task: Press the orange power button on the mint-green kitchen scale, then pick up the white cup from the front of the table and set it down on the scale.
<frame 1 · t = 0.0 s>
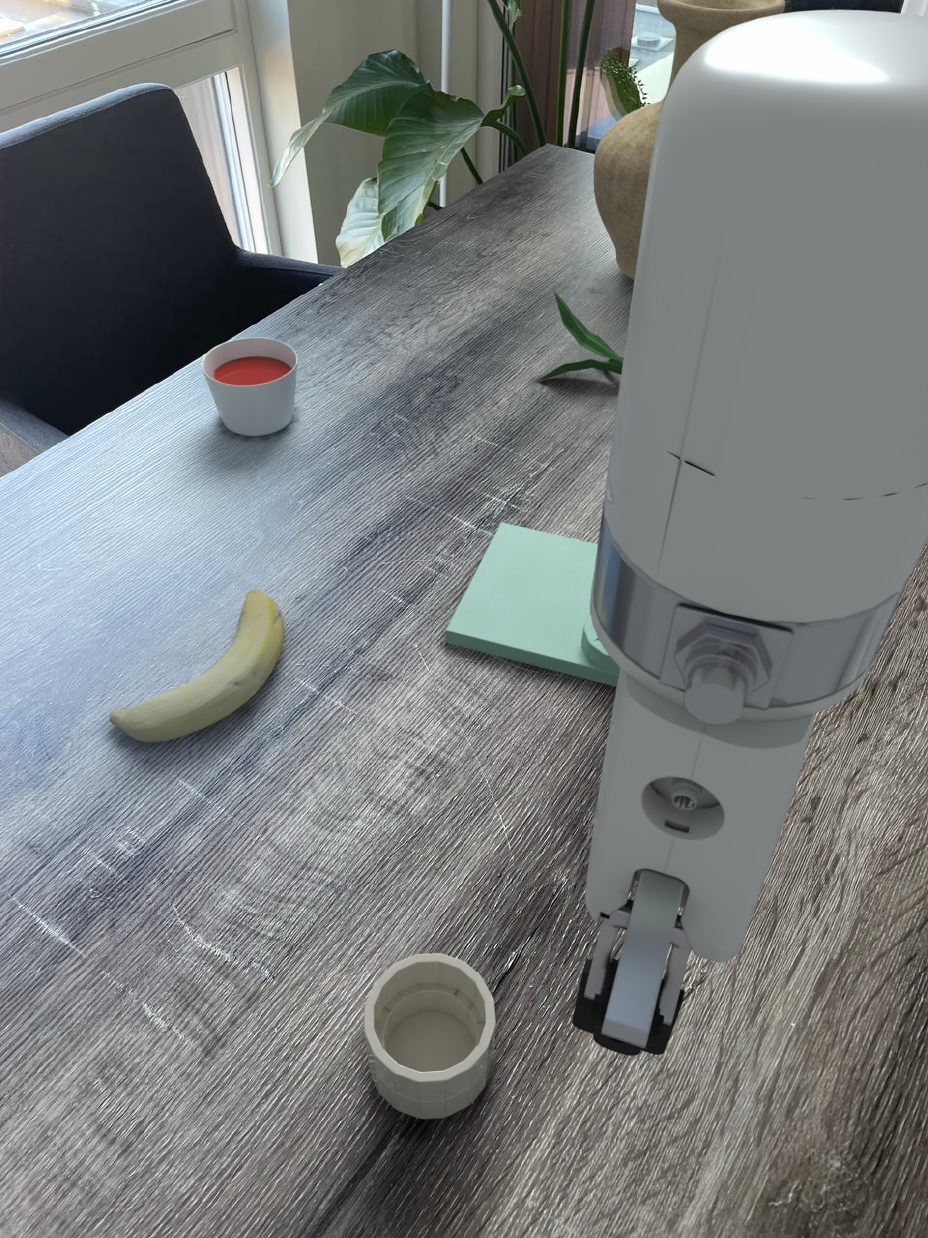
hand: (646, 913, 38), 21 cm above the table, tool pointing down, fingers open, 9 cm apart
power button: (624, 626, 74), point 3 cm above the table, slide at 0.1 cm
white cup: (430, 1059, 54), on the table
scale: (569, 608, 80), on the table
vase: (673, 277, 123), on the table
decorative plant: (681, 401, 102), on the table
fruit: (214, 677, 74), on the table
candle: (258, 419, 99), on the table
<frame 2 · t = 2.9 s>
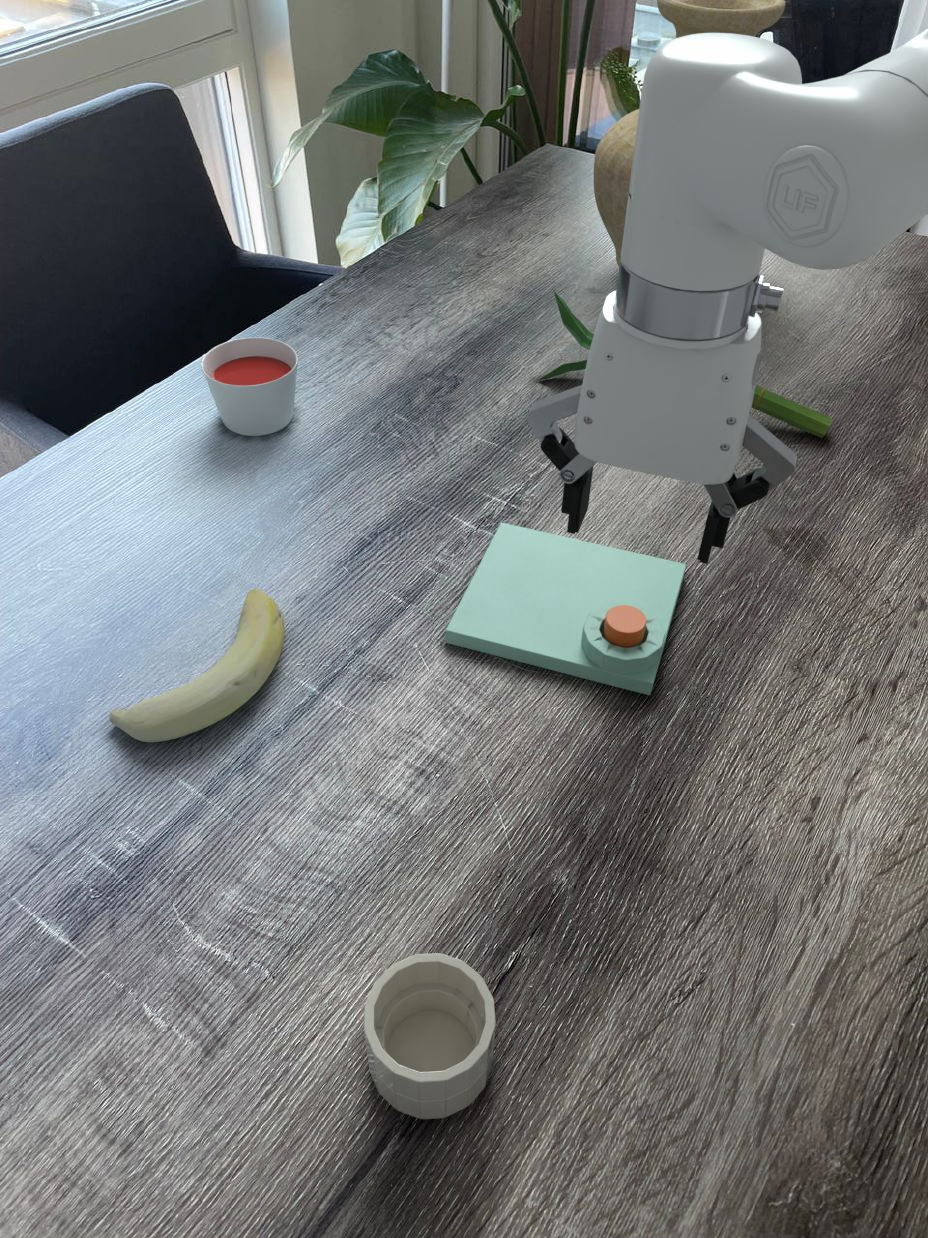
hand: (640, 535, 68), 12 cm above the table, tool pointing down, fingers open, 8 cm apart
nothing on the table moved.
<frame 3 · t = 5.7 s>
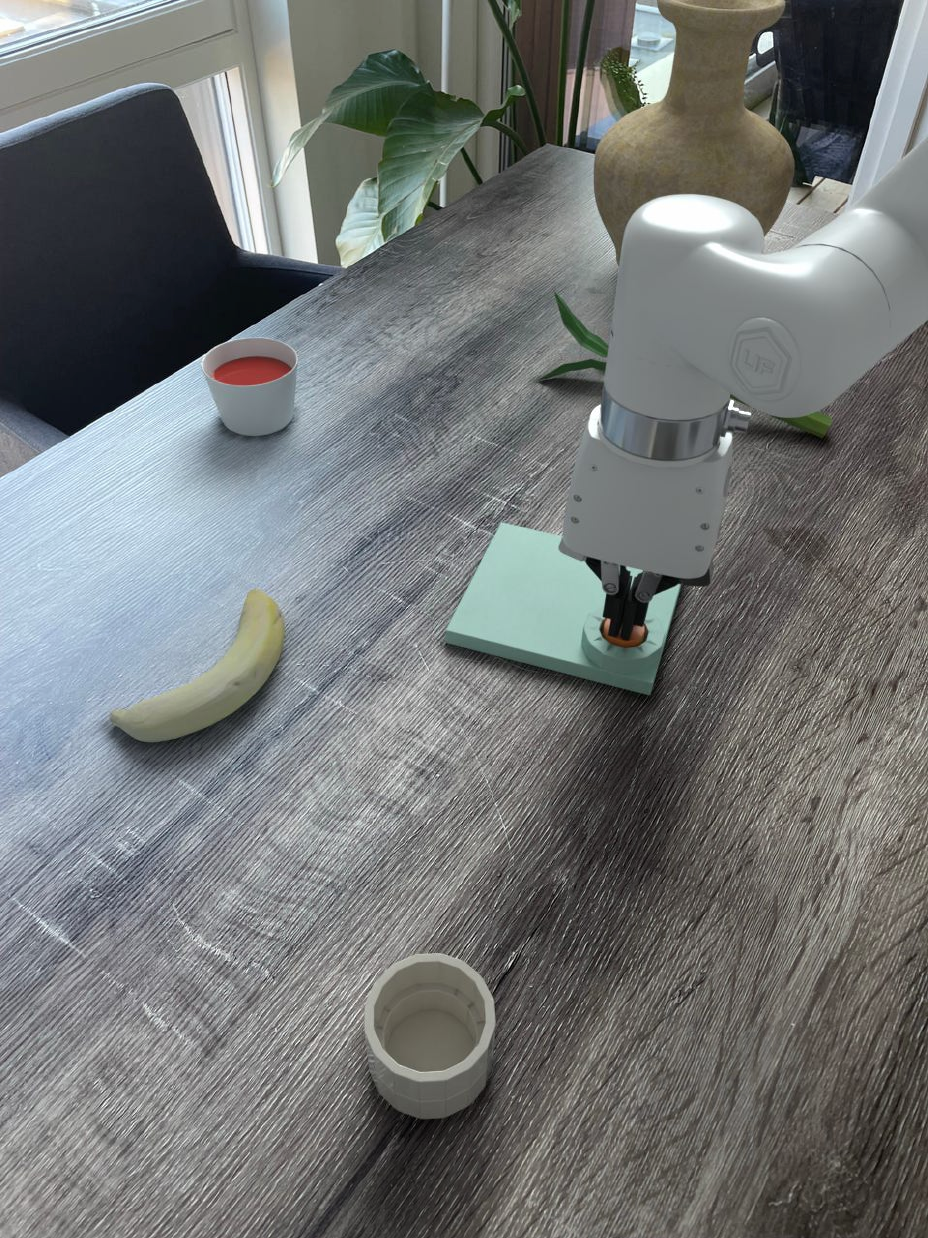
hand: (622, 625, 74), 3 cm above the table, tool pointing down, fingers closed
power button: (623, 634, 74), point 3 cm above the table, slide at -0.7 cm, touching gripper
everything else where it was.
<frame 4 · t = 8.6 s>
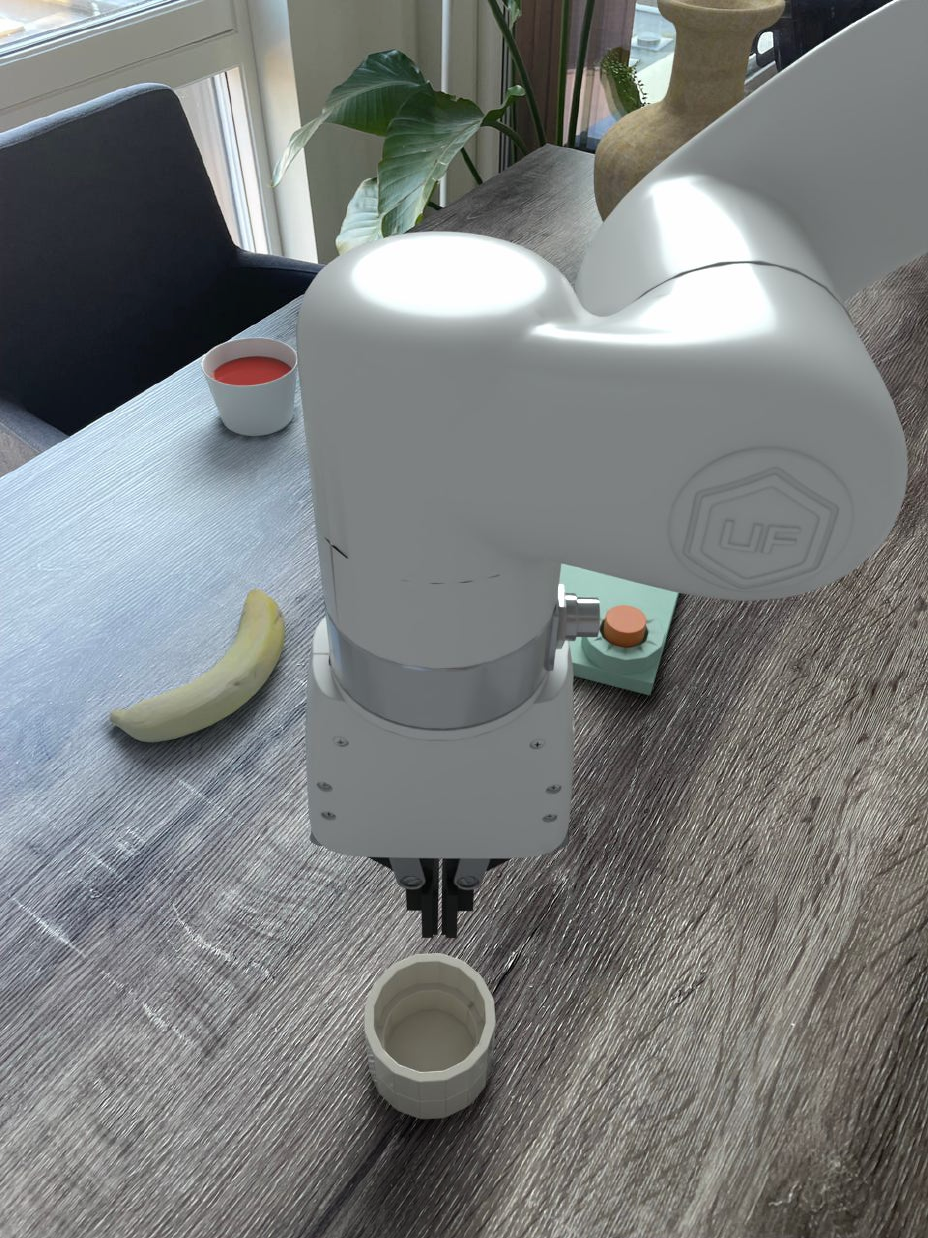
hand: (440, 908, 46), 13 cm above the table, tool pointing down, fingers closed
power button: (624, 626, 74), point 3 cm above the table, slide at 0.1 cm
everything else where it was.
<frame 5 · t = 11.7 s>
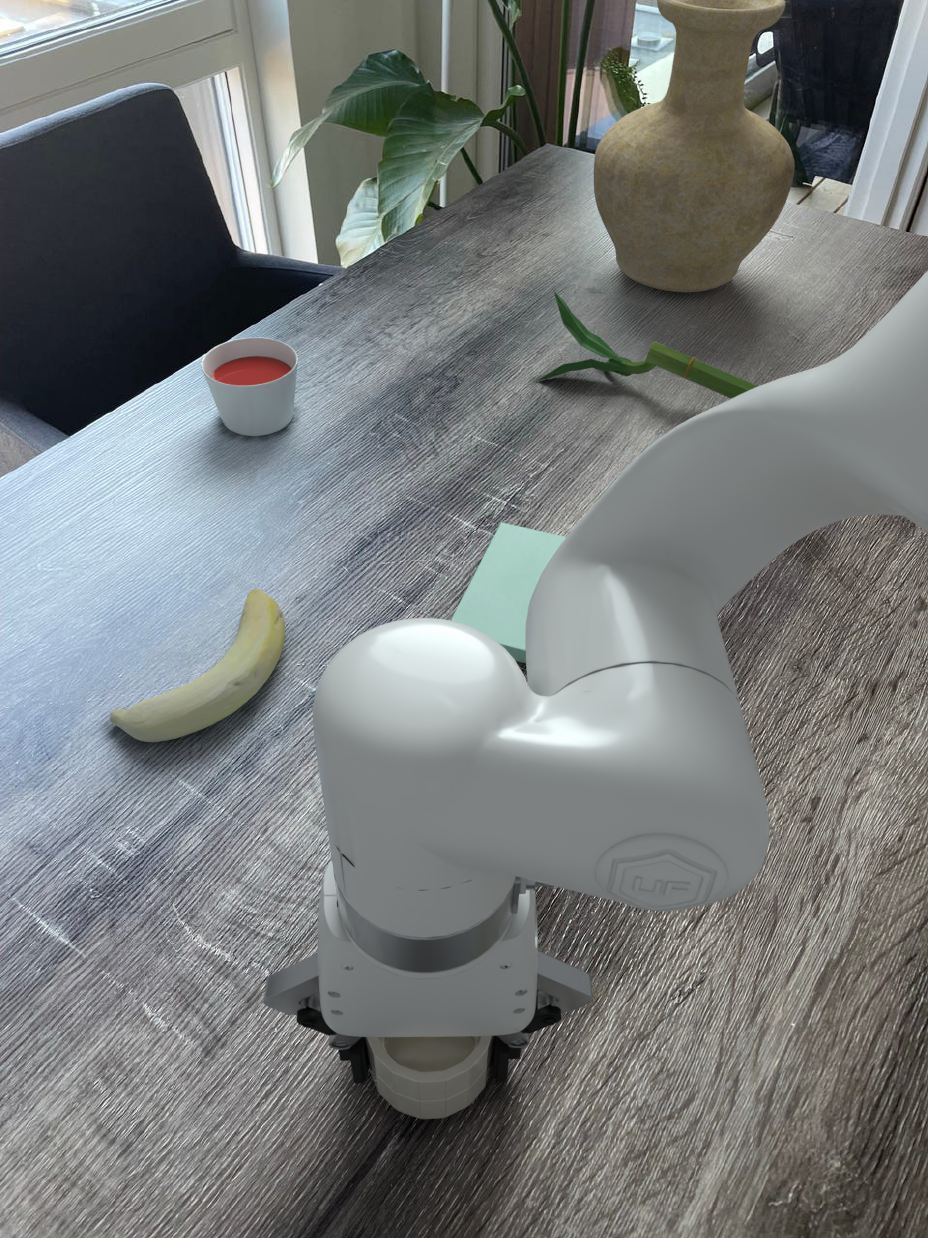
hand: (430, 1053, 54), 1 cm above the table, tool pointing down, fingers closed on white cup, 6 cm apart
white cup: (430, 1059, 54), on the table, touching gripper
everything else where it was.
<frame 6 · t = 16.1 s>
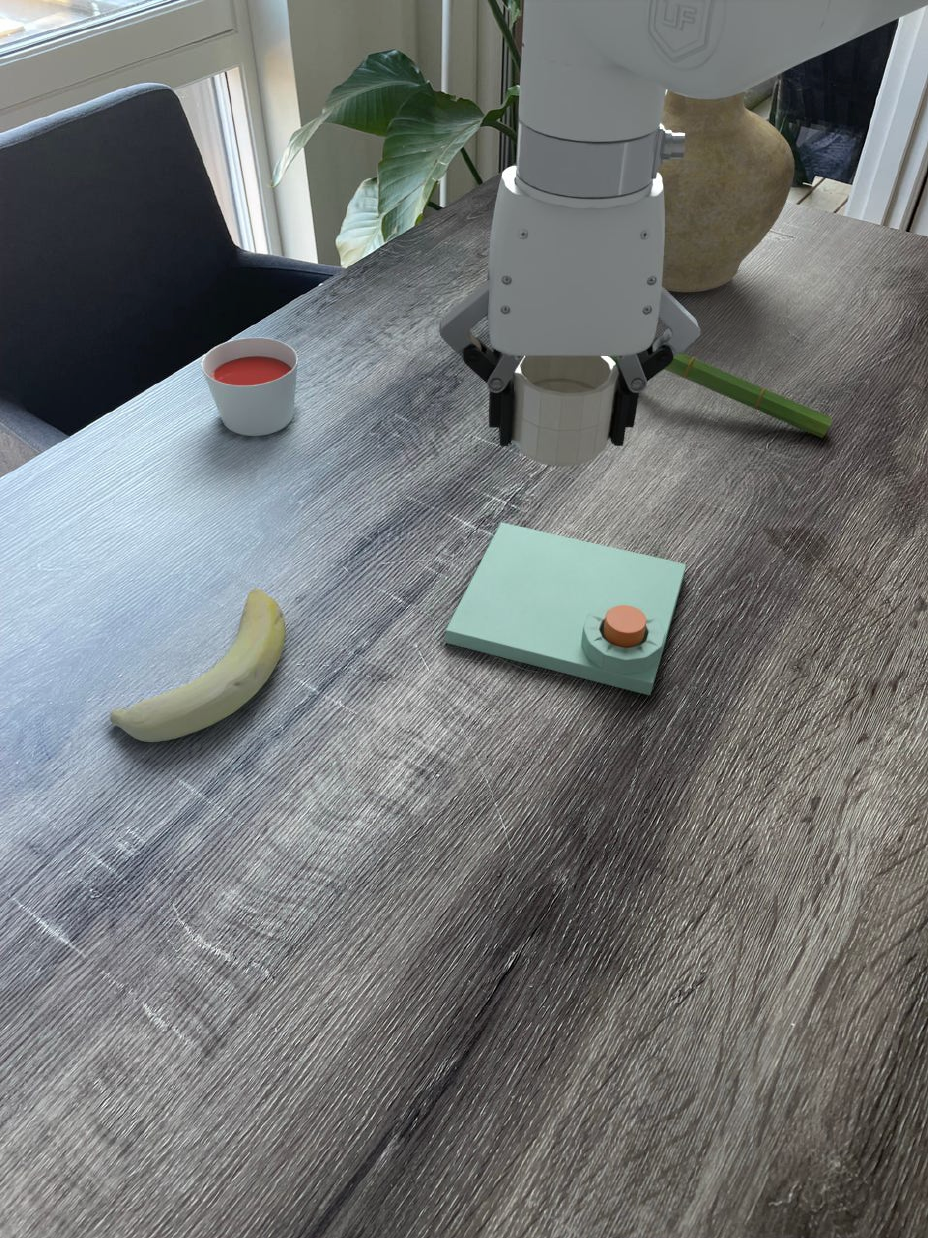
hand: (559, 432, 66), 18 cm above the table, tool pointing down, fingers closed on white cup, 6 cm apart
white cup: (558, 441, 67), point 17 cm above the table, touching gripper
everything else where it was.
when the fingers open (2 cm above the table, at t = 20.4 s): white cup stays where it is, resting on scale.
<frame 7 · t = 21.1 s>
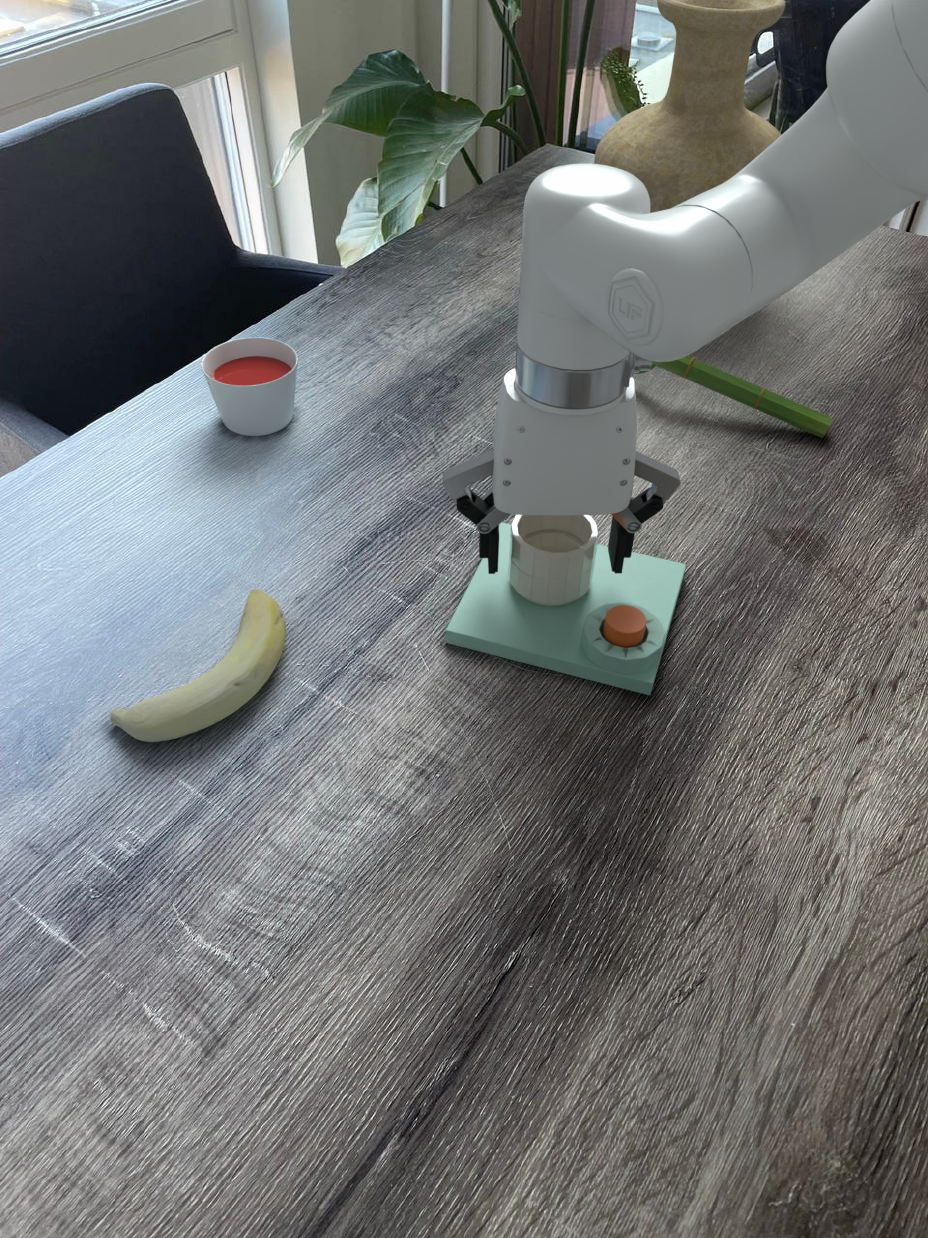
hand: (553, 562, 78), 4 cm above the table, tool pointing down, fingers open, 9 cm apart
white cup: (549, 581, 80), point 1 cm above the table, touching scale
everything else where it was.
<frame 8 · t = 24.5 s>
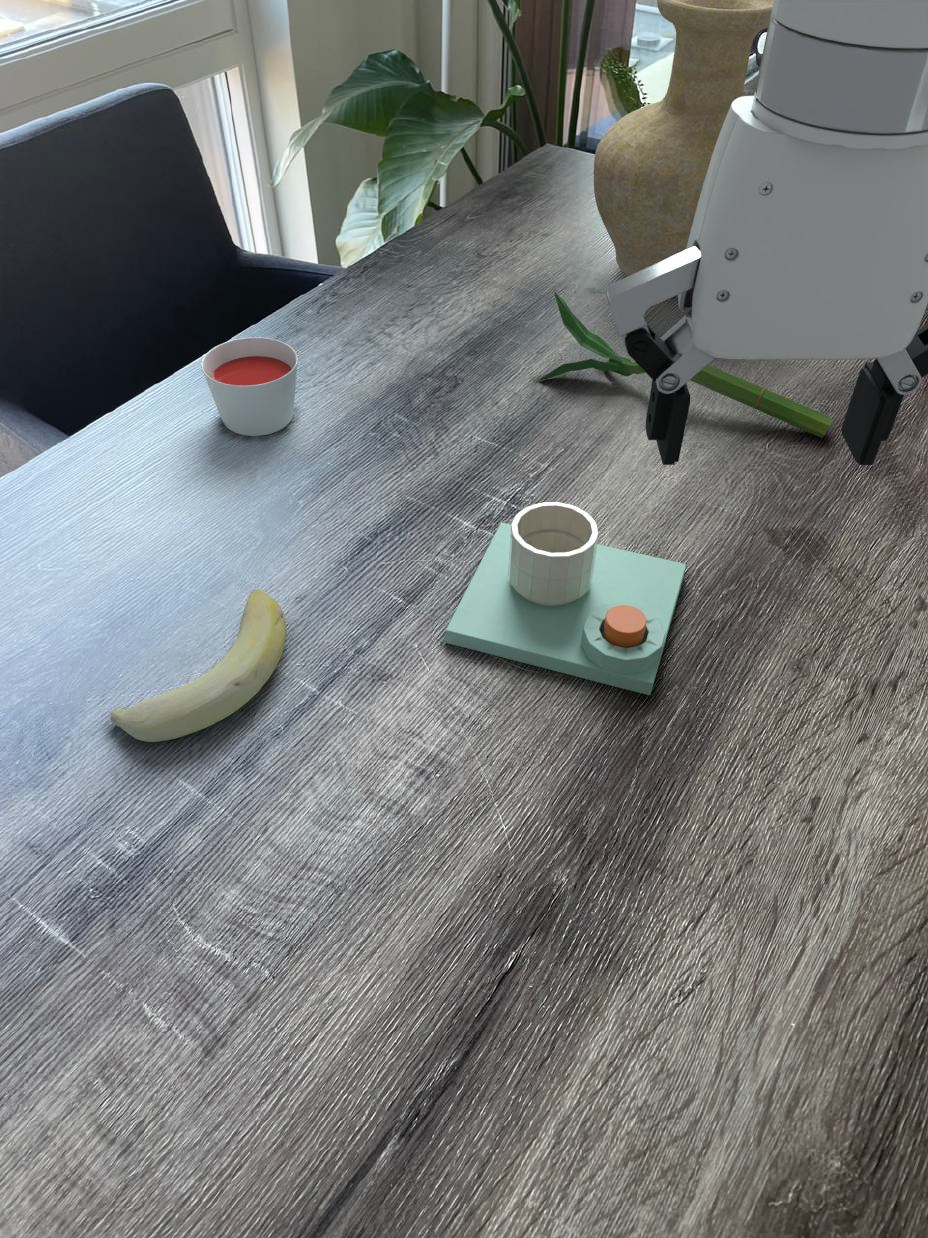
hand: (760, 449, 50), 26 cm above the table, tool pointing down, fingers open, 9 cm apart
nothing on the table moved.
at the end: power button pushed in 0.9 cm at the most during the clip, back to where it started at the end; white cup inside the target area on the scale (1.1 cm from its centre), point 1.4 cm above the scale's base; white cup touching scale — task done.
